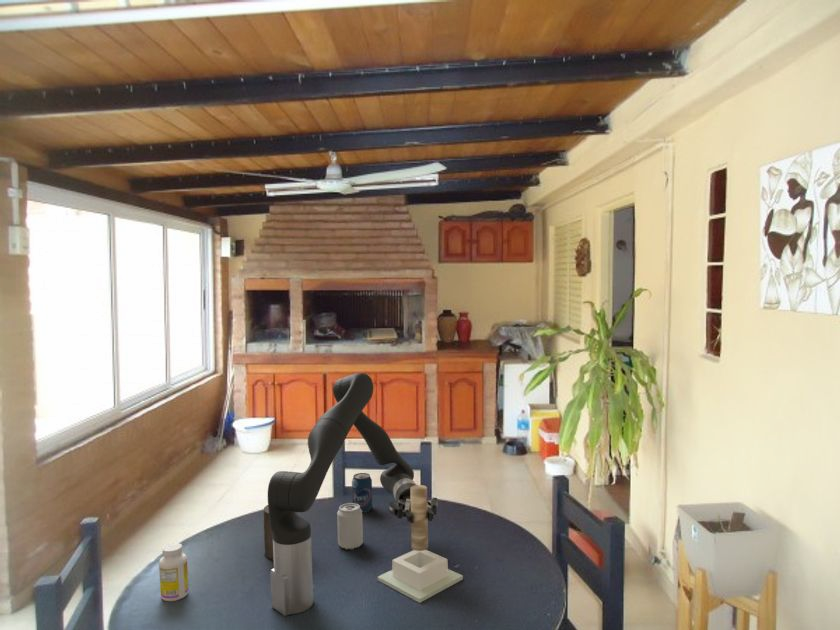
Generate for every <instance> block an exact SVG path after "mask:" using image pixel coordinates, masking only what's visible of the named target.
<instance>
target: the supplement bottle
mask: <svg viewBox="0 0 840 630" xmlns="http://www.w3.org/2000/svg"><path fill="white" fill-rule="evenodd" d="M161 551H162V555H163V556H162V557H161V558H160V559H159V562H158V567H159V582H160V583H159V586H160V587H159V588H160V597H161V599H162V601H166V602H176V601H180V600H181V599H184V598H185V597H187V595H188V594H189V591H190V590H189V588H190V587H189V586H190V585H189V573H188V572H189V571H188V558H187V557H188V556H187V555H186V554H185V553H184V552H183V545H182V544H181V543H178V542H177V543H176V542H175V543H174V542H173V543H169V544H166V545H164V546H163V547H162V549H161Z"/></svg>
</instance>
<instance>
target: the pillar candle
mask: <svg viewBox="0 0 840 630" xmlns="http://www.w3.org/2000/svg"><path fill="white" fill-rule="evenodd" d="M295 513H296V514H297V515H298V512H295ZM263 537H264V554H263V555H264V557H265V558H267V559H269V560H273V561H274V558H273V534H272V531H271V529H270V519H269V509H268V504H267V505H265V506H264V508H263Z"/></svg>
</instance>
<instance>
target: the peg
mask: <svg viewBox="0 0 840 630" xmlns="http://www.w3.org/2000/svg"><path fill="white" fill-rule="evenodd" d="M410 496H411V512H412V514H413V518H414V523H410V533H411V535H410V541H411V542H410V543H411V546H410V547H411V549H412V551H413V550H416V551H423V550H428V548H429V530H428V529H429V527H428V524H429V523H428V521H429V520H428V515H427V500H428V487H427V486H426V485H422V484H417V485H415V486H412V487H411V488H410Z"/></svg>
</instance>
